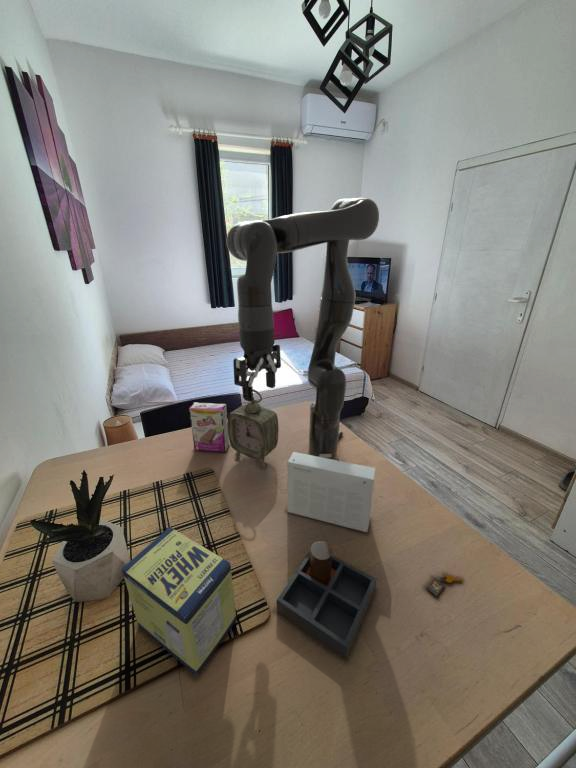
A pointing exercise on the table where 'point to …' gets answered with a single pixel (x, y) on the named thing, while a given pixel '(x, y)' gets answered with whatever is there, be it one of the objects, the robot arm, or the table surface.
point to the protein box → (182, 597)
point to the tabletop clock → (253, 430)
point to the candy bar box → (209, 426)
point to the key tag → (440, 584)
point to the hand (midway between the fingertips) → (260, 393)
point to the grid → (328, 603)
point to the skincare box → (330, 490)
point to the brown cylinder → (321, 562)
